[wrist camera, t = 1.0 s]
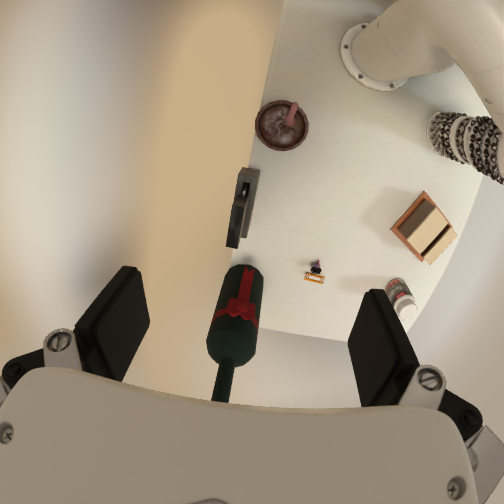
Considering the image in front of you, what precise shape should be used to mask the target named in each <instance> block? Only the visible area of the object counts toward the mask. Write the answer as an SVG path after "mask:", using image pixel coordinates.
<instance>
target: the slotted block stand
mask: <svg viewBox="0 0 504 504" xmlns="http://www.w3.org/2000/svg"><path fill="white" fill-rule="evenodd" d="M447 224H448V225H450V226H451V224H450V223H449V222H448V220H447V219H446V218H445V216H444V215H443V214H442V212H441V211H440V210H439V208H438V207H437V206H436V204H435V203H434V202H433V201H432V199H431V198H430V197H429V196H428V195H427V193H426V192H423V193H422V194H421V195H420V196H419V197H418V199H417V200H416V201H415V202H414V203H413V204H412V206H411V207H410V208H409V209H408V210H407V211H406V212H405V214H404V215H403V216H402V217H401V218H400V219H399V220H398V221H397V222H396V224H395V225H394V226H393V227H392V228H391V231H392V232H393V233H394V234H395V235H396V236H397V237H398V238H399V239H400V240H401V241H402V242H403V243H404V244H405V245H406V246H407V247H408V248H409V249H410V250H411V251H412V252H413V253H414V254H415V255H416V256H417V257H418V258H419V260H420V261H421V262H422V261H423V260H424V258H423V257H422V256H421V255H420V254H421V253H422V252H423V251H424V250H425V249H426V247H427V246H428V245H429V244H430V243H431V242H432V241H433V240H434V239H435V238H436V237H437V235H438V234H439V233H440V232H441V231H442V230H443V229H444V227H445V226H446V225H447ZM451 227H452V226H451ZM452 228H453V227H452Z"/></svg>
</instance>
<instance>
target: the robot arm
mask: <svg viewBox="0 0 504 504" xmlns="http://www.w3.org/2000/svg"><path fill="white" fill-rule="evenodd" d="M362 27H363V28H364V29H363V28H362ZM344 47H346V48H347V49H345V48H344ZM340 53H341V58H342V61H343V64H344V66H345V67H346V69H347V71H348V72H349V73H350V74H351V76H352V77H353V78H354V79H356V80H357V81H358V82H359V83H361V84H362V85H364V86H366V87H368V88H370V89H373V90H377V91H391V90H395V89H397V88H400V87H401V86H402V85H404V84H405V83H406V81H407V80H408V79H409V77H414V76H419V75H425V74H431V73H437V72H442V71H445V70H447V69H449V68H450V67H452V66H453V65H454V63H455V62H456V63H457V64H458V66H459V67H460V69H461V70H463V72H464V73H465V75H466V76H467V78H468V79H469V81H470V82H471V84H472V86H473V87H474V89H475V90H476V92H477V94H478V95H479V97H480V99H481V100H482V102H483V104H484V106H485V107H486V109H487V111H488V112H489V114H490V116H491V117H492V119H493V121H494V122H495V124H496V125H497V127H498V128H499V129H500V130H501V131H502V132H503V133H504V0H397V1H396V2H395V3H394V4H392V5H391V6H390V7H389V8H388V9H386V10H385V11H384V12H383V13H382V14H381V15H379V16H378V17H377V18H376V19H375V20H374V21H372V22H371V23H362V24H357V25H355V26H353V27H352V28H350V29H349V30H348V31H347V32H346V33H345V35H344V37H343V38H342V41H341V45H340ZM358 76H360V78H358ZM389 85H391V87H390V86H389ZM149 324H150V318H149V313H148V308H147V303H146V298H145V293H144V288H143V282H142V276H141V272H140V271H138V270H137V268H136V267H131V266H123V267H122V268H121V269H120V270H119V271H118V272H117V273H116V275H115V276H114V277H113V278H112V279H111V281H110V282H109V283H108V284H107V285H106V287H105V288H104V289H103V290H102V291H101V293H100V294H99V295H98V296H97V298H96V299H95V300H94V301H93V303H92V304H91V305H90V306H89V308H88V309H87V310H86V311H85V313H84V314H83V316H82V317H81V318H80V319H79V321H78V322H77V323H76V325H75V329H74V330H73V332H72V331H71V330H69V329H64V328H61V329H57V330H54V331H52V332H51V333H49V334H48V336H47V337H46V338H45V340H44V345H43V348H42V349H39V350H37V351H34V352H31V353H28V354H25V355H22V356H19V357H16V358H13V359H11V360H10V361H8V362H7V363H6V364H5V366H4V367H3V370H2V376H0V504H484V503H485V502H486V501H487V499H488V498H489V496H490V495H491V493H492V492H493V490H494V489H495V488H496V486H497V484H498V483H499V481H500V480H501V478H502V477H503V475H504V444H503V443H502V441H501V440H500V439H499V438H498V437H497V436H496V435H495V434H494V433H493V432H492V431H491V430H490V428H488V426H487V425H486V426H485V427H483V426H482V422H483V420H482V415H481V413H480V411H479V410H478V409H477V408H476V407H475V406H473V405H472V404H470V403H468V402H467V401H465V400H463V399H462V398H460V397H458V396H457V395H455V394H453V393H452V392H450V391H448V390H447V389H445V387H446V379H445V376H444V375H443V373H442V372H441V371H440V370H439V369H438V368H436V367H434V366H432V365H421V366H420V364H419V362H418V359H417V357H416V355H415V352H414V350H413V348H412V345H411V344H410V341H409V339H408V337H407V335H406V332H405V330H404V328H403V326H402V324H401V322H400V320H399V318H398V316H397V314H396V312H395V310H394V308H393V306H392V304H391V302H390V300H389V298H388V296H387V294H386V292H385V291H384V290H383V289H370V290H369V292H366V293H365V295H364V297H363V300H362V303H361V306H360V309H359V312H358V315H357V317H356V320H355V323H354V326H353V328H352V331H351V333H350V336H349V339H348V348H349V353H350V356H351V361H352V365H353V370H354V374H355V378H356V383H357V388H358V392H359V397H360V402H361V407H359V408H328V409H306V408H305V409H303V408H278V407H262V406H250V405H240V404H230V403H223V402H215V401H208V400H202V399H196V398H190V397H184V396H179V395H173V394H169V393H164V392H159V391H155V390H150V389H146V388H142V387H138V386H134V385H130V384H126V383H123V382H122V380H123V378H124V376H125V374H126V372H127V370H128V368H129V366H130V364H131V361H132V359H133V357H134V355H135V353H136V351H137V349H138V347H139V345H140V343H141V341H142V339H143V337H144V335H145V334H146V331H147V330H148V328H149Z"/></svg>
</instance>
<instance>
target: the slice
mask: <svg viewBox="0 0 504 504" xmlns="http://www.w3.org/2000/svg"><path fill="white" fill-rule="evenodd" d="M456 236H457V234H456V233H455V231H454V230H453V228H452V227H451V226H450V225H448V224H447V225H446V226H445V227H444V229H443V230H442V231H441V232H440V233H439V234H438V235H437V237H436V238H435V239H434V240H433V241H432V242H431V243H430V244H429V245H428V246H427V247H426V249H425V250H424V251H423V252H422V253H421V254H420V255H421V256H422V257H423V258H424V259H425V261H426V262H427V263H428V264H429V265H431V264H432V263H433V262H434V261H435V260H436V259H437V257H438V256H439V255H440V254H441V253H442V252H443V251H444V250H445V249H446V248H447V247H448V245H449V244H450V243H451V242H452V241H453V240H454V239H455V238H456Z"/></svg>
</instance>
